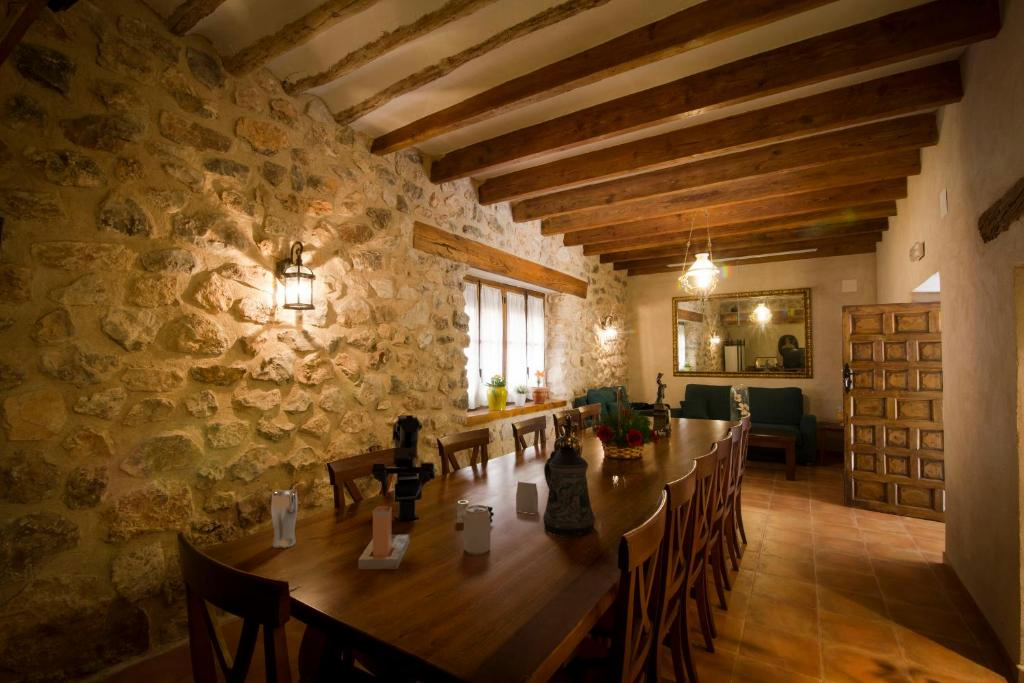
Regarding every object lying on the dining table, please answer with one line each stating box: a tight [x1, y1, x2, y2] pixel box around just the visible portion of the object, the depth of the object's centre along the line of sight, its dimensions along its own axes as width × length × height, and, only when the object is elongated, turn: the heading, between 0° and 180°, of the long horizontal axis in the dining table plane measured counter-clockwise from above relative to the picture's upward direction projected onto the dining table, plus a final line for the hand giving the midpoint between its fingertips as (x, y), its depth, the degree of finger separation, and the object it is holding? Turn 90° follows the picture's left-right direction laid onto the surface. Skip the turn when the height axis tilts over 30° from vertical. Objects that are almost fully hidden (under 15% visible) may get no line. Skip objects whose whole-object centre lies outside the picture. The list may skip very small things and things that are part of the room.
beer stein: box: [542, 446, 596, 538], centre depth 154 cm, size 16×19×25 cm
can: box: [463, 504, 491, 556], centre depth 137 cm, size 8×8×12 cm
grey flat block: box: [357, 534, 410, 570], centre depth 133 cm, size 16×10×3 cm, turn 1°
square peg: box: [372, 505, 393, 557], centre depth 130 cm, size 4×4×14 cm
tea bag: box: [515, 481, 539, 515], centre depth 169 cm, size 4×7×10 cm, turn 67°
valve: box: [456, 499, 495, 524], centre depth 157 cm, size 7×7×12 cm
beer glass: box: [270, 489, 299, 549], centre depth 141 cm, size 7×7×15 cm
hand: (399, 496), depth 142 cm, fingers open, 9 cm apart
